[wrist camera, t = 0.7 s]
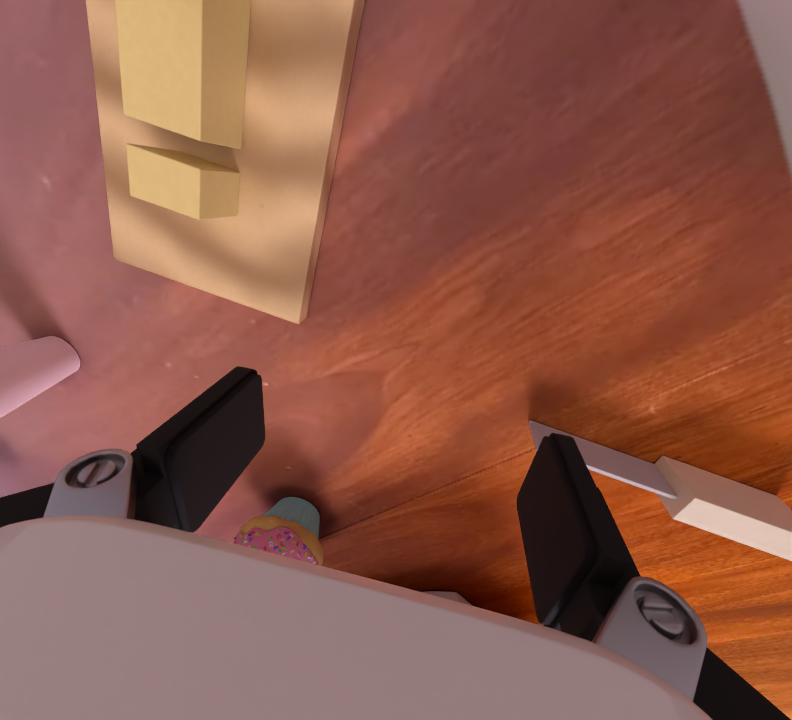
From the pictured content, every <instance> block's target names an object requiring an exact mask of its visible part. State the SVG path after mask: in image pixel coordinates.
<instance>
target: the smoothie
mask: <svg viewBox="0 0 792 720" xmlns="http://www.w3.org/2000/svg"><path fill="white" fill-rule="evenodd" d="M79 368H80V359H79V356H78V354H77V352H76V351H75V350H74V348H73V347H72V346H71V345H70V344H68V343H67V342H66V341H64V340H63V339H61V338H59V337H55V336H47V337H43V338H39V339H35V340H30V341H26V342H22V343H17V344H13V345H9V346H4V347H0V418H1V417H3V416H5V415H6V414H8V413H9V412H11V411H13V410H14V409H16V408H18V407H19V406H21V405H22V404H24V403H26V402H27V401H29V400H30V399H32V398H34V397H35V396H37V395H39V394H40V393H42V392H43V391H45V390H47V389H48V388H50V387H51V386H53V385H55V384H56V383H58V382H60V381H61V380H63V379H64V378H66V377H68V376H69V375H71V374H73V373H74V372H76V371H77V370H78V369H79Z"/></svg>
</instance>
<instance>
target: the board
mask: <svg viewBox="0 0 792 720" xmlns="http://www.w3.org/2000/svg"><path fill="white" fill-rule="evenodd" d="M364 3H365V0H251V8H250V23H249V39H248V54H247V70H246V86H245V101H244V117H243V133H242V148H241V149H237V148H232V147H227V146H222V145H217V144H212V143H207V142H202V141H198V140H195V139H193V138H190V137H187V136H184V135H181V134H178V133H175V132H172V131H170V130H167V129H164V128H161V127H158V126H155V125H152V124H150V123H147V122H144V121H141V120H138V119H135V118H132V117H129V116H127V115H125V114H124V112H123V99H122V87H121V74H120V61H119V49H118V36H117V23H116V11H115V0H86V6H87V15H88V24H89V34H90V43H91V52H92V61H93V70H94V79H95V88H96V98H97V107H98V116H99V125H100V134H101V143H102V152H103V161H104V171H105V180H106V189H107V198H108V207H109V216H110V225H111V235H112V244H113V253H114V259H116V260H119V261H122V262H124V263H127V264H130V265H133V266H136V267H138V268H141V269H144V270H147V271H150V272H153V273H155V274H158V275H161V276H164V277H167V278H169V279H172V280H175V281H178V282H181V283H184V284H186V285H189V286H192V287H195V288H198V289H200V290H203V291H206V292H209V293H212V294H215V295H217V296H220V297H223V298H226V299H229V300H231V301H234V302H237V303H240V304H243V305H246V306H248V307H251V308H254V309H257V310H260V311H262V312H265V313H268V314H271V315H274V316H277V317H279V318H282V319H285V320H288V321H291V322H293V323H296V324H299V323H300V322H302V321H303V320H304V319H305V318H306V317H307V313H308V308H309V302H310V297H311V291H312V286H313V280H314V275H315V269H316V264H317V258H318V253H319V248H320V242H321V237H322V231H323V226H324V220H325V215H326V209H327V204H328V199H329V193H330V188H331V182H332V177H333V171H334V166H335V160H336V155H337V150H338V144H339V139H340V133H341V128H342V122H343V117H344V111H345V106H346V101H347V95H348V90H349V84H350V79H351V73H352V68H353V62H354V57H355V52H356V46H357V41H358V35H359V30H360V24H361V19H362V13H363V8H364ZM126 143H129V144H136V145H143V146H149V147H156V148H163V149H169V150H176V151H180V152H183V153H185V154H188V155H191V156H194V157H197V158H200V159H203V160H205V161H208V162H211V163H214V164H217V165H220V166H223V167H225V168H228V169H231V170H234V171H237V172H239V173H240V179H239V195H238V210H237V216H231V217H221V218H212V219H202V220H198V219H195V218H192V217H190V216H187V215H184V214H181V213H178V212H175V211H173V210H170V209H167V208H164V207H161V206H158V205H156V204H153V203H150V202H147V201H144V200H141V199H139V198H136V197H133V196H131V195H130V187H129V174H128V162H127V149H126Z"/></svg>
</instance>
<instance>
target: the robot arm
mask: <svg viewBox="0 0 792 720" xmlns="http://www.w3.org/2000/svg"><path fill="white" fill-rule="evenodd" d="M264 441H265V424H264V409H263V393H262V379H261V376H260V375H258V374H257V371H256V370H254V369H249V368H244V367H236V368H234V369H233V370H232V371H230V372H229V373H228V374H227V375H225V376H224V377H223V378H221V379H220V380H219V381H218V382H216V383H215V384H214V385H212V386H211V387H210V388H209V389H207V390H206V391H205V392H203V393H202V394H201V395H200V396H198V397H197V398H196V399H194V400H193V401H192V402H191V403H189V404H188V405H187V406H186V407H184V408H183V409H182V410H180V411H179V412H178V413H177V414H175V415H174V416H173V417H171V418H170V419H169V420H168V421H166V422H165V423H164V424H162V425H161V426H160V427H159V428H157V429H156V430H155V431H153V432H152V433H151V434H150V435H148V436H147V437H146V438H144V439H143V440H142V441H141V442H139V443H138V444H137V445H136V446H137V449H136V450H134V451H133V452H132V453H131V454H130V453H128V452H127V451H124V450H121V449H105V450H99V451H95V452H92V453H89V454H86V455H84V456H82V457H79V458H77V459H76V460H74V461H73V462H71V463H69V464H68V465H67V466H66V467H65V468H64V469H63V470H61V471H60V473H59V475H58V476H57V478H56V481H55V483H52V484H48V485H45V486H41V487H37V488H34V489H30V490H27V491H23V492H19V493H16V494H12V495H8V496H5V497H1V498H0V720H791V719H789V718H788V717H787V716H786V715H785V714H784V713H782V712H781V711H780V710H779V709H778V708H777V707H776V706H774V705H773V704H772V703H771V702H770V701H769V700H767V699H766V698H765V697H764V696H763V695H762V694H760V693H759V692H758V691H757V690H756V689H755V688H753V687H752V686H751V685H750V684H749V683H748V682H746V681H745V680H744V679H743V678H742V677H741V676H739V675H738V674H737V673H736V672H735V671H734V670H733V669H731V668H730V667H729V666H728V665H727V664H726V663H724V662H723V661H722V660H721V659H720V658H719V657H717V656H716V655H715V654H714V653H713V652H712V651H710V650H709V649H708V648H707V635H706V632H705V629H704V626H703V624H702V622H701V621H700V619H699V617H698V616H697V614H696V613H695V611H694V610H693V609H692V608H691V607H690V606H689V604H688V603H687V602H686V601H685V600H684V599H683V598H682V597H681V596H679V595H678V594H677V593H676V592H675V591H674V590H672V589H671V588H669V587H668V586H666V585H664V584H663V583H661V582H659V581H656V580H654V579H652V578H648V577H642V576H640V574H639V572H638V570H637V568H636V566H635V564H634V561H633V559H632V557H631V555H630V553H629V551H628V549H627V547H626V544H625V542H624V540H623V538H622V536H621V534H620V532H619V529H618V527H617V525H616V523H615V521H614V519H613V517H612V515H611V512H610V510H609V508H608V506H607V504H606V502H605V500H604V498H603V495H602V493H601V492H600V490H599V488H597V487H596V485H595V483H594V481H593V479H592V477H591V474H590V472H589V470H588V468H587V466H586V464H585V461H584V459H583V457H582V455H581V453H580V451H579V448H578V446H577V444H576V442H575V440H574V438H573V437H571V436H567V435H562V434H557V433H551V434H550V436H544V437H543V439H542V441H541V443H540V446H539V448H538V450H537V453H536V455H535V457H534V459H533V462H532V464H531V466H530V468H529V471H528V473H527V475H526V478H525V480H524V482H523V484H522V487H521V489H520V491H519V494H518V497H517V510H518V516H519V521H520V527H521V532H522V538H523V543H524V549H525V555H526V560H527V566H528V571H529V577H530V582H531V588H532V593H533V599H534V605H535V610H536V615H537V619H538V621H539V623H541V624H544V626H542V625H538V624H535V623H531V622H528V621H524V620H521V619H518V618H514V617H511V616H507V615H504V614H500V613H497V612H493V611H490V610H486V609H482V608H478V607H475V606H471V605H467V604H463V603H460V602H456V601H452V600H449V599H445V598H441V597H437V596H434V595H430V594H426V593H422V592H419V591H415V590H411V589H407V588H404V587H400V586H396V585H393V584H389V583H385V582H381V581H377V580H374V579H370V578H366V577H362V576H358V575H354V574H351V573H347V572H343V571H339V570H335V569H332V568H328V567H324V566H320V565H316V564H312V563H309V562H305V561H301V560H297V559H293V558H289V557H286V556H282V555H278V554H274V553H270V552H266V551H262V550H258V549H254V548H250V547H247V546H243V545H239V544H235V543H231V542H227V541H223V540H219V539H215V538H211V537H207V536H204V535H199V534H195V533H191V532H195V531H196V530H197V529H198V528H199V527H200V526H201V525H202V523H203V522H204V521H205V520H206V518H207V517H208V516H209V514H210V513H211V512H212V511H213V509H214V508H215V507H216V505H217V504H218V503H219V502H220V500H221V499H222V498H223V496H224V495H225V494H226V493H227V491H228V490H229V489H230V487H231V486H232V485H233V484H234V482H235V481H236V480H237V478H238V477H239V476H240V475H241V473H242V472H243V471H244V469H245V468H246V467H247V466H248V464H249V463H250V462H251V460H252V459H253V458H254V457H255V455H256V454H257V453H258V451H259V450H260V449H261V448H262V446H263V444H264Z"/></svg>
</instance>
